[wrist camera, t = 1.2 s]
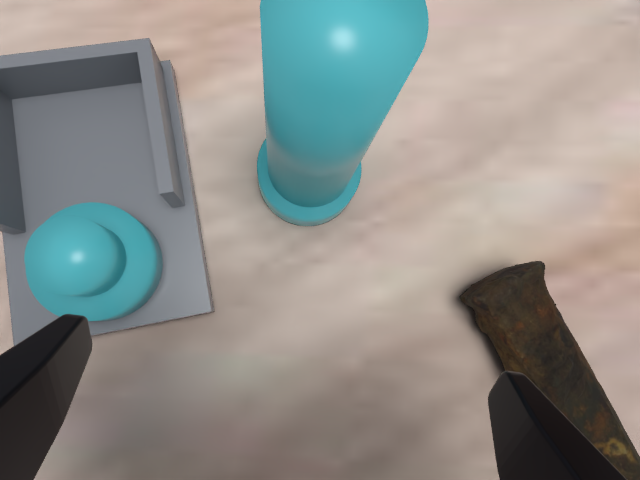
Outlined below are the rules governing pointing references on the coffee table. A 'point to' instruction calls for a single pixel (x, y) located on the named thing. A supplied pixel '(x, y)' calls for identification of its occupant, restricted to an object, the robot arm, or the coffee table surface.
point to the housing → (97, 190)
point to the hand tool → (549, 356)
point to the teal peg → (329, 95)
